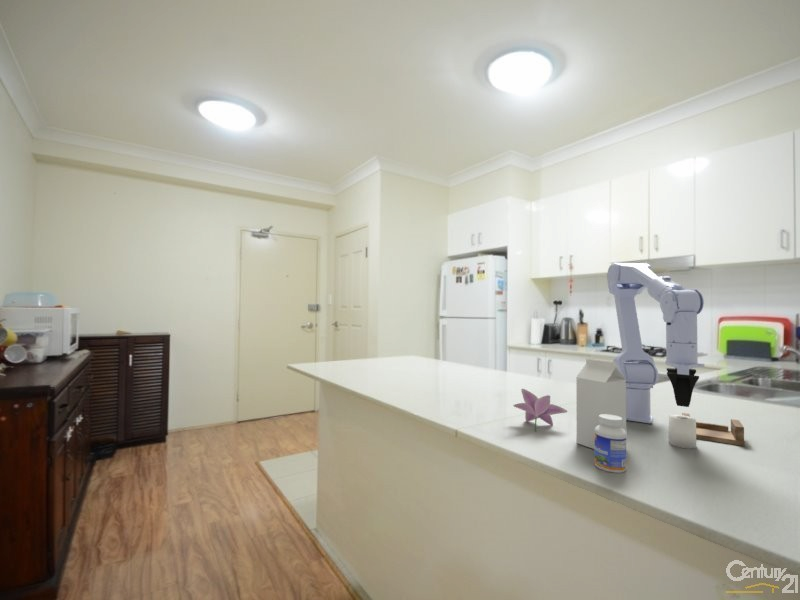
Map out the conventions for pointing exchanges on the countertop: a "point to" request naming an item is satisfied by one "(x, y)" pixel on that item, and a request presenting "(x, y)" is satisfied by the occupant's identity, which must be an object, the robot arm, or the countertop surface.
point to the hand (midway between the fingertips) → (682, 402)
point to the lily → (538, 407)
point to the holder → (720, 432)
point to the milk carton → (598, 398)
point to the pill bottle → (610, 444)
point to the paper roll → (682, 431)
